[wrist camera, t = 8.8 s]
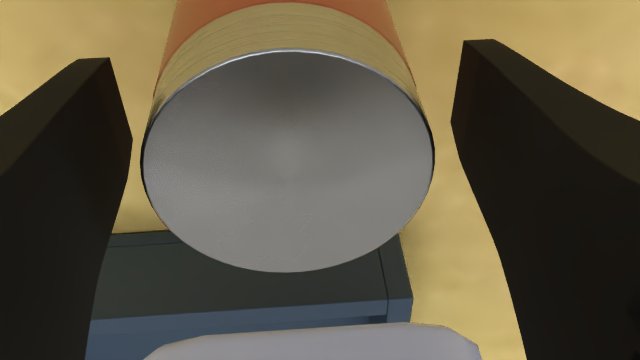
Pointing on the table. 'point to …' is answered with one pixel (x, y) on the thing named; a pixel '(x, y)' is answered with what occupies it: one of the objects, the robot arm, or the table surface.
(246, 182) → the tin can
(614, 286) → the robot arm
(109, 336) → the tub
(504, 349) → the table surface
